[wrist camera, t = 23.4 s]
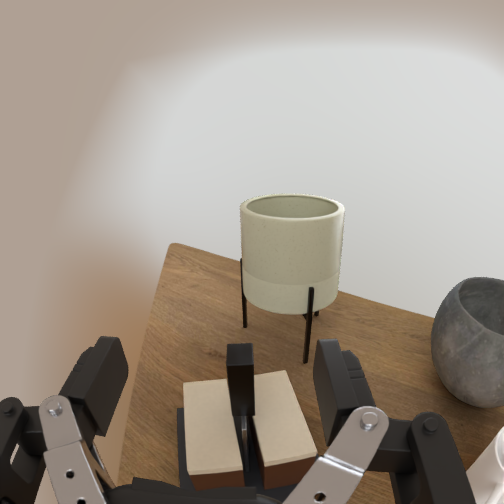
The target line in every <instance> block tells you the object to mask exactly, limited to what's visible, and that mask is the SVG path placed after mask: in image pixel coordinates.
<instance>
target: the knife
mask: <svg viewBox="0 0 504 504" xmlns="http://www.w3.org/2000/svg"><path fill="white" fill-rule="evenodd" d="M226 367H227V377H228V386H229V395H230V404H231V412H232V416H242V437H243V448H244V459H245V469H246V472H248V471H249V447H248V424H247V416H255V387H254V359H253V344H252V343H241V344H227V360H226Z"/></svg>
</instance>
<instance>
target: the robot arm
mask: <svg viewBox="0 0 504 504" xmlns="http://www.w3.org/2000/svg"><path fill="white" fill-rule="evenodd" d="M127 377H128V364H127V361H126V358H125V355H124V351H123V348H122V345H121V342H120V339H119V338H117V337H107V336H101V337H100V338H99V339H98V341H97V343H96V344H95V346H94V347H89V348H88V349H87V350H86V351H85V352H83V353H82V354H81V356H80V358H79V359H78V361H77V364H75V366H74V368H73V371H71V373H70V375H69V376H68V379H67V380H66V382H65V384H64V385H63V387H62V389H61V391H60V393H59V394H58V395H54V396H50V397H48V398H46V399H45V400H44V401H43V402H42V403H41V405H40V406H32V407H24V406H23V404H22V403H21V401H20V400H19V399H17V398H15V397H9V398H6V399H4V400H2V401H1V402H0V504H34V502H35V499H36V496H37V492H38V489H39V486H40V483H41V480H42V477H43V474H44V471H45V468H46V467H47V470H48V474H49V476H50V480H51V483H52V486H53V489H54V492H55V495H56V498H57V501H58V504H346V503H347V501H348V500H349V498H350V497H351V495H352V493H353V492H354V490H355V488H356V487H357V485H358V483H359V482H360V480H361V478H362V477H363V475H364V473H365V471H366V470H367V471H378V472H389V475H390V479H391V484H392V488H393V493H394V498H395V503H396V504H476V501H475V498H474V495H473V491H472V488H471V486H470V483H469V480H468V477H467V474H466V471H465V468H464V466H463V463H462V460H461V458H460V455H459V452H458V450H457V447H456V445H455V442H454V440H453V437H452V435H451V432H450V430H449V427H448V425H447V423H446V421H445V419H444V418H443V417H442V416H440V415H439V414H437V413H434V412H423V413H420V414H418V415H417V416H416V417H415V418H414V419H413V421H409V420H397V419H392V418H389V417H387V415H386V414H385V413H384V412H383V411H382V410H380V409H378V408H377V407H376V405H375V402H374V400H373V397H372V394H371V391H370V389H369V386H368V383H367V381H366V378H365V375H364V373H363V370H362V367H361V365H360V362H359V360H358V358H357V357H356V356H355V355H354V354H353V353H352V352H351V351H350V350H347V351H341V349H340V346H339V343H338V340H337V339H321V340H318V341H317V345H316V353H315V360H314V367H313V379H314V385H315V390H316V395H317V400H318V405H319V410H320V415H321V420H322V425H323V430H324V435H325V441H326V446H330V447H329V448H328V450H327V451H326V453H325V454H324V455H321V456H320V457H319V458H318V459H317V460H316V461H315V463H314V464H313V465H312V467H311V468H310V469H309V471H308V472H307V473H306V475H305V476H304V477H303V479H302V480H301V481H300V482H299V484H298V485H297V486H296V488H295V489H294V490H293V491H292V492H291V494H290V495H289V496H288V497H287V499H286V500H285V501H284V502H283V503H281V502H280V501H278V500H275V499H273V498H271V497H267V496H264V495H260V494H256V487H220V488H213V489H207V490H200V491H188V490H185V489H182V488H179V487H176V486H173V485H171V484H168V483H165V482H162V481H156V480H149V479H143V478H137V477H133V481H132V484H128V485H122V486H118V487H116V486H115V485H114V483H113V481H112V480H111V478H110V476H109V474H108V472H107V470H106V468H105V466H104V464H103V462H102V459H101V457H100V455H99V452H98V450H97V448H96V445H95V443H94V442H93V439H94V437H95V435H99V436H104V437H105V436H106V433H107V430H108V427H109V425H110V422H111V419H112V417H113V414H114V411H115V408H116V406H117V403H118V401H119V398H120V396H121V393H122V390H123V388H124V386H125V383H126V380H127ZM16 444H18V445H19V448H18V450H17V452H16V455H15V458H14V460H13V462H12V465H11V464H10V459H11V456H12V453H13V451H14V449H15V446H16Z"/></svg>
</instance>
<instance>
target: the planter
mask: <svg viewBox="0 0 504 504" xmlns="http://www.w3.org/2000/svg"><path fill="white" fill-rule="evenodd" d="M344 214H345V208H344V206H343V205H342V204H341V203H339V202H337V201H335V200H332V199H329V198H325V197H320V196H314V195H307V194H271V195H264V196H258V197H255V198H251V199H248V200H246V201H244V202H243V203H242V204H241V205H240V222H241V246H242V247H241V248H242V258H241V259H240V264H241V287H242V309H243V328H247V300H246V298H247V299H248V301H250V302H251V303H252V304H253V305H255V306H257V307H259V308H261V309H263V310H266V311H269V312H273V313H279V314H292V315H294V314H302V315H303V316H304V318H305V319H306V331H305V343H304V353H303V363H304V364H305V363H308V355H309V345H310V335H311V324H312V313H313V312H315V313H314V315H315V316H318V315H319V310H321V309H323V308H325V307H327V306H328V305H330V304H331V303H332V302H333V301H334V300H335V298H336V296H337V292H338V283H339V274H340V264H341V252H342V241H343V228H344Z"/></svg>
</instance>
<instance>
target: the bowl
mask: <svg viewBox="0 0 504 504" xmlns="http://www.w3.org/2000/svg"><path fill="white" fill-rule="evenodd" d="M431 352H432V359H433V363H434V366H435V369H436V371H437V374H438V376H439V378H440V379H441V381H442V383H443V384H444V386H445V387H446V388H447V390H448V391H449V392H450V393H452V394H453V395H454V396H455V397H456V398H458V399H459V400H461V401H463V402H465V403H467V404H469V405H472V406H476V407H480V408H493V407H499V406H504V281H503V280H500V279H494V278H487V277H474V278H468V279H466V280H463V281H462V282H460V283H459V284H457V285H456V286H455V287H454V288H453V289H452V290H451V291H450V292H449V293H448V295H447V296H446V297H445V299H444V300H443V302H442V303H441V305H440V307H439V309H438V312H437V314H436V316H435V320H434V323H433V327H432V333H431Z"/></svg>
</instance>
